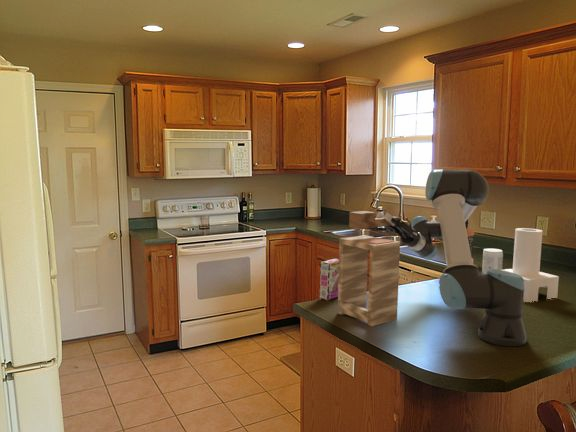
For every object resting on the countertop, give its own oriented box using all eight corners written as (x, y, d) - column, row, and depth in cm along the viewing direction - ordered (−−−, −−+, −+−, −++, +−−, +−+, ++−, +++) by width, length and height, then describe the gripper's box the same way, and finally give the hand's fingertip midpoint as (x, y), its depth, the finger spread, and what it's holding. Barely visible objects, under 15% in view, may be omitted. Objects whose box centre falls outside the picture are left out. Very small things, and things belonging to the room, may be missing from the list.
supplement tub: (496, 275, 254) (498, 248, 252) (505, 280, 245) (507, 251, 243) (478, 275, 254) (480, 248, 252) (486, 279, 244) (488, 251, 243)
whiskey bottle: (449, 264, 279) (452, 210, 275) (456, 261, 287) (459, 208, 283) (467, 267, 273) (470, 211, 269) (473, 264, 280) (476, 210, 276)
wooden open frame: (396, 319, 183) (400, 241, 179) (371, 326, 174) (374, 245, 171) (362, 307, 197) (364, 235, 193) (337, 313, 188) (339, 238, 185)
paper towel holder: (492, 291, 223) (496, 228, 219) (521, 287, 230) (526, 226, 227) (526, 302, 206) (531, 234, 202) (557, 298, 213) (562, 231, 210)
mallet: (390, 223, 200) (390, 208, 199) (401, 224, 195) (402, 210, 195) (349, 227, 185) (349, 212, 185) (360, 229, 181) (360, 213, 180)
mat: (394, 241, 179) (394, 240, 179) (376, 244, 173) (376, 243, 173) (378, 238, 185) (378, 237, 185) (360, 241, 179) (360, 240, 179)
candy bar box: (328, 301, 205) (329, 263, 203) (319, 299, 208) (319, 261, 206) (342, 295, 213) (343, 259, 211) (333, 293, 216) (334, 257, 214)
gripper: (425, 250, 198) (394, 225, 185) (394, 244, 211) (363, 221, 198) (432, 233, 200) (401, 208, 186) (400, 229, 213) (370, 205, 199)
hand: (382, 215), depth 192 cm, fingers closed on mallet, 3 cm apart
